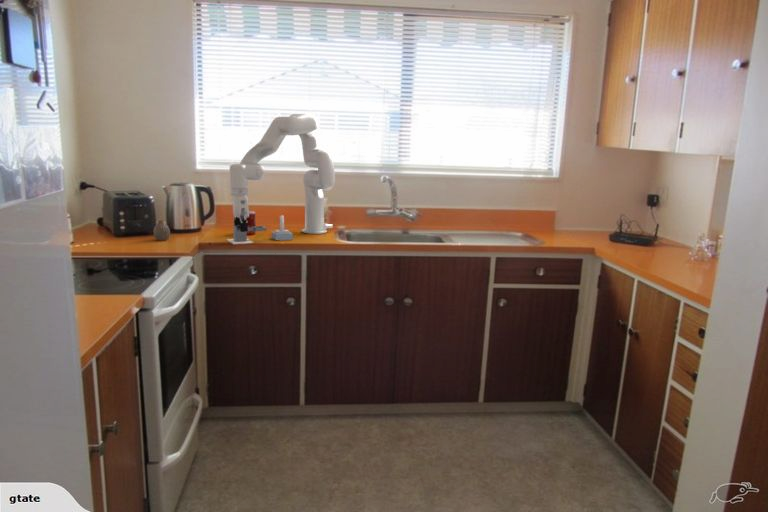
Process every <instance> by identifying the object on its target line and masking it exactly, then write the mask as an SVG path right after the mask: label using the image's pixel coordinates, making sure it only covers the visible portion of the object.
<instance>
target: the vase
mask: <svg viewBox="0 0 768 512" xmlns="http://www.w3.org/2000/svg"><path fill="white" fill-rule="evenodd" d="M170 235H171V230H170V228H169V226H168V225H167V223H166V222H165V221H164V220H161V219H160V220H158V221H157V223H156V224H155V226H154V227H153V237H154V238H155V240H156V241H158V242H161V241H165V242H166V241H167V240H168V239H169V238H170Z"/></svg>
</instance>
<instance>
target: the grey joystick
mask: <svg viewBox="0 0 768 512" xmlns="http://www.w3.org/2000/svg"><path fill="white" fill-rule="evenodd" d="M270 233H271V239H272V238H273V239H272V240H274V239H275V240H274V241H276V240H280V241H289V240H290V241H293V240H294V234H293V233H292V232H291V231H290V230H288V229H285V216H284V215H279V229H276V230H274V231H271V232H270Z"/></svg>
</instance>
